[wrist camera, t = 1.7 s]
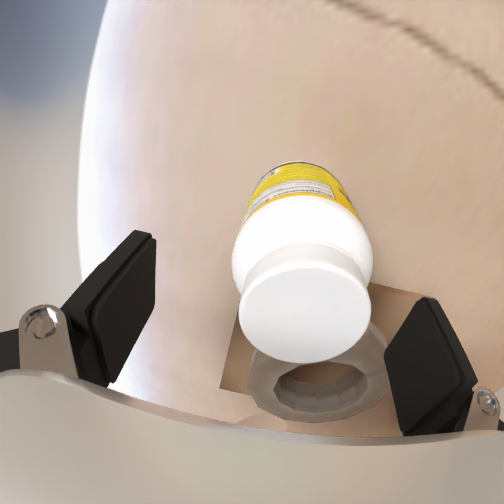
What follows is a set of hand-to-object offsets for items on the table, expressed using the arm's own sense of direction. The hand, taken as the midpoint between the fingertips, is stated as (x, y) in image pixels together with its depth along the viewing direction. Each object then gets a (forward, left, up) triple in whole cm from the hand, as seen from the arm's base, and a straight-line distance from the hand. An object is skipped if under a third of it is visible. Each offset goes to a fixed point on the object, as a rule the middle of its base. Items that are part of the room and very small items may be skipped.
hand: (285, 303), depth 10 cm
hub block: (-5, +11, -9) cm, 15 cm away
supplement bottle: (0, 0, -9) cm, 9 cm away
